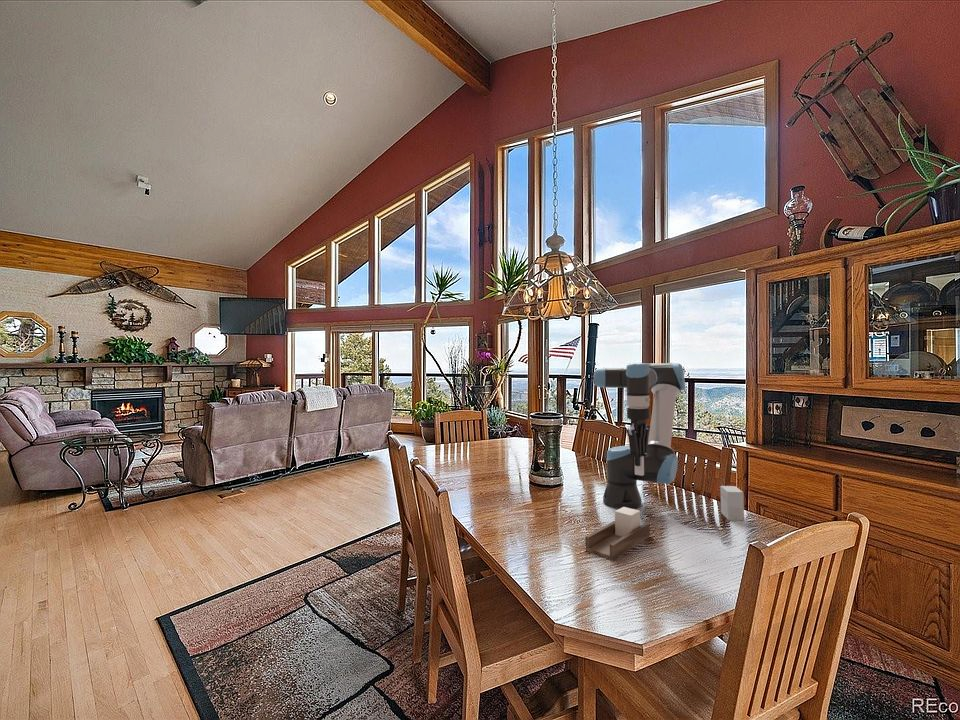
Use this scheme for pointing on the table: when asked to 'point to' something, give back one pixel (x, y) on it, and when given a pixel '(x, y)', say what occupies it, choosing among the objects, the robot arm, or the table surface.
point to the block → (626, 520)
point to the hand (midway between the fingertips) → (639, 474)
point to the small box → (732, 502)
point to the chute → (615, 540)
